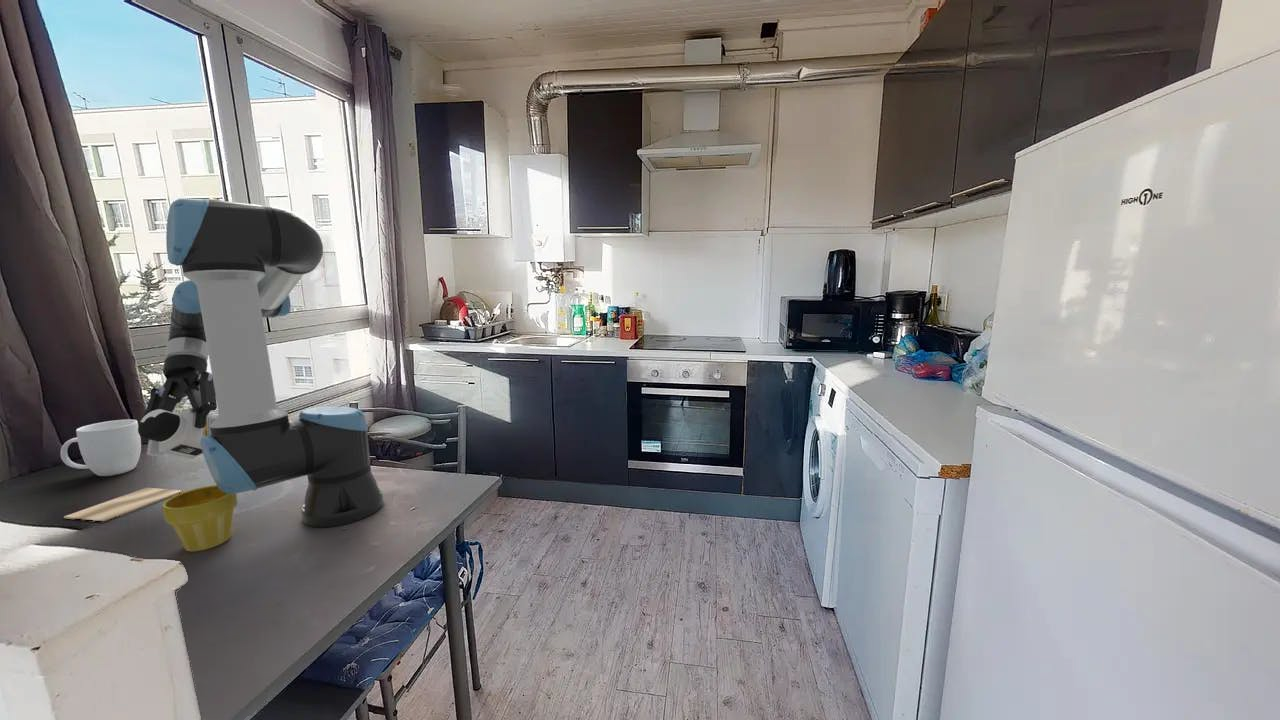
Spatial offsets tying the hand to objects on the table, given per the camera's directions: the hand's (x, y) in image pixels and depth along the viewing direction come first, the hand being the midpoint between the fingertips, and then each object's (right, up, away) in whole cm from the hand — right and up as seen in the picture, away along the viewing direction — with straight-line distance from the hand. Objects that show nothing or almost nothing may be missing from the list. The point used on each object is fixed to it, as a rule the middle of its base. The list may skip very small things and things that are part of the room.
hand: (174, 448), depth 104 cm
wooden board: (-14, -13, +4) cm, 20 cm away
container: (0, +1, +9) cm, 9 cm away
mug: (-39, -11, +23) cm, 47 cm away
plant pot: (+19, -16, -13) cm, 28 cm away
